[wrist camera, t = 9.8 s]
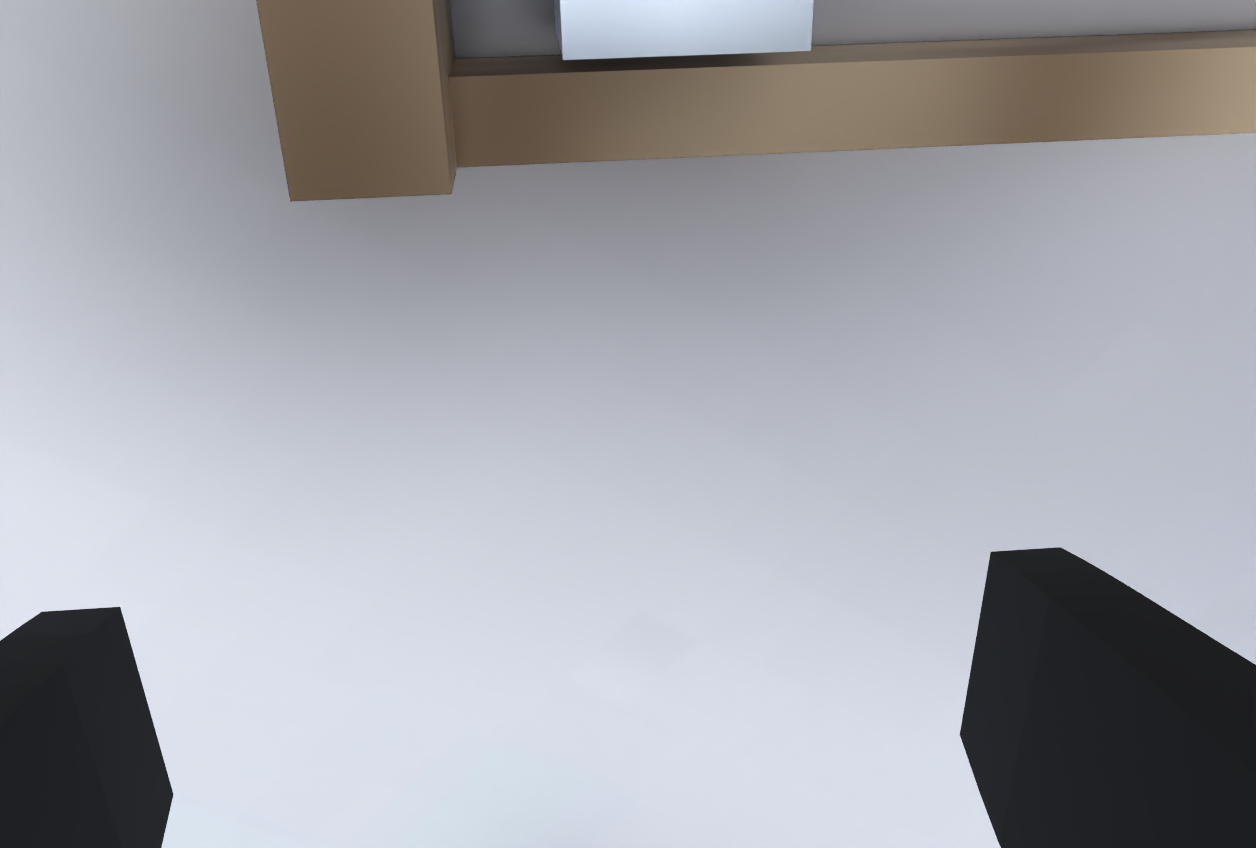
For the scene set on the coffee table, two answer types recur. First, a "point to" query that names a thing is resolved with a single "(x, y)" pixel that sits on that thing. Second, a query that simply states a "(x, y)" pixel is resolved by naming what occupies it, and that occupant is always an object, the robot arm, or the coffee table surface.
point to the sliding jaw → (681, 27)
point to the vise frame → (706, 97)
